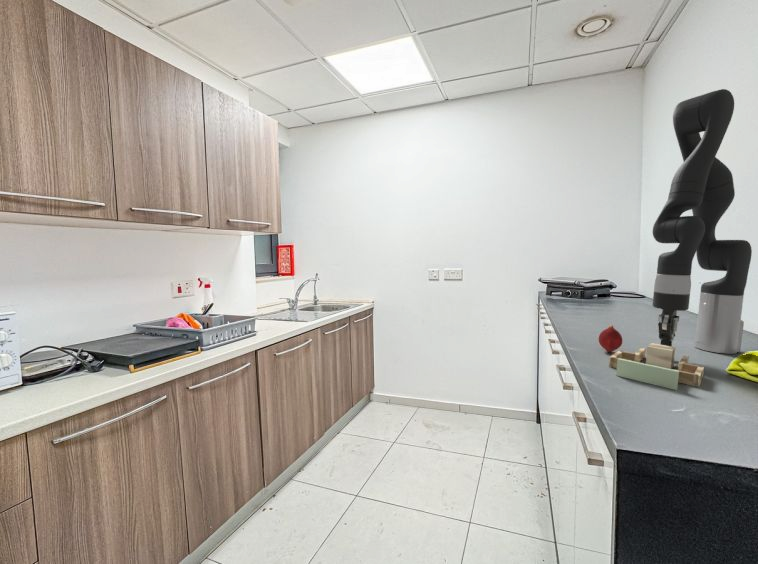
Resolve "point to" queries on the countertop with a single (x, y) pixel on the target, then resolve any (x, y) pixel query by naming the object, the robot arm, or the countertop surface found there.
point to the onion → (610, 339)
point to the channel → (686, 371)
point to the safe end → (648, 373)
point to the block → (660, 355)
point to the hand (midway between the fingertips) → (665, 353)
